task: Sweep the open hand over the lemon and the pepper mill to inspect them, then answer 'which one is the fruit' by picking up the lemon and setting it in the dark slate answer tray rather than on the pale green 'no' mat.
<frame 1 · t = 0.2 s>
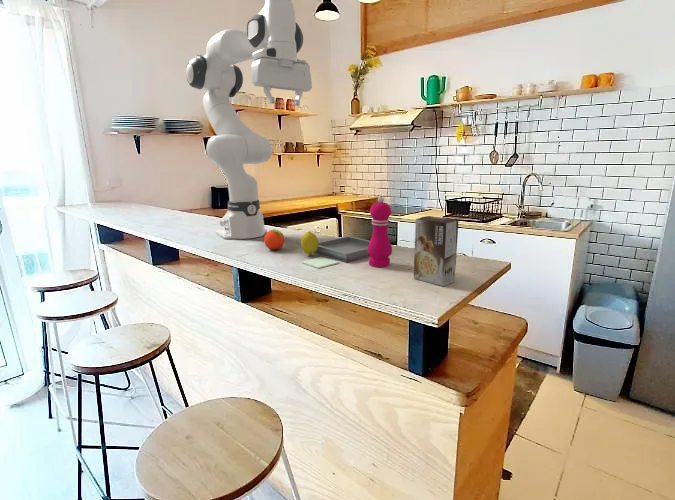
hand: (284, 104, 118), 47 cm above the table, tool pointing down, fingers open, 8 cm apart
pepper mill: (379, 265, 112), on the table
lemon: (310, 256, 122), on the table
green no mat: (320, 263, 113), on the table
slate tray: (347, 251, 126), on the table
clementine: (275, 250, 129), on the table
coffee box: (433, 280, 98), on the table
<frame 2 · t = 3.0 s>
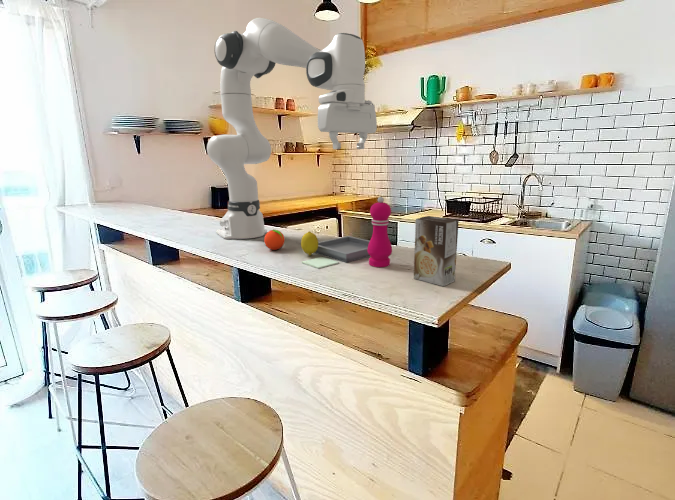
hand: (348, 149, 109), 33 cm above the table, tool pointing down, fingers open, 8 cm apart
nothing on the table moved.
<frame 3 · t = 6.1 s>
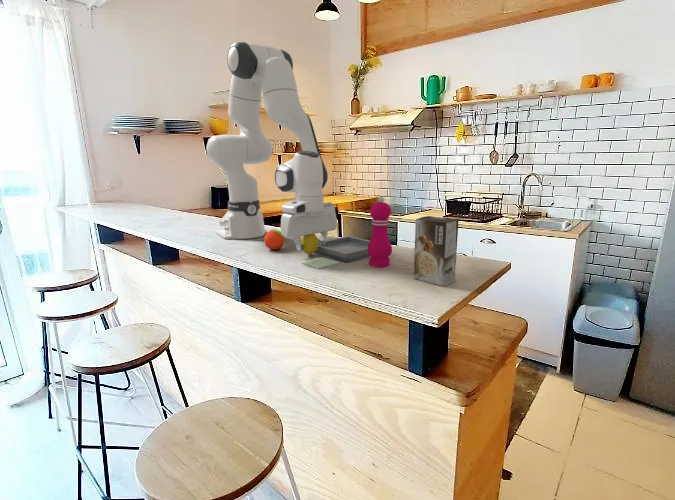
hand: (311, 247, 121), 3 cm above the table, tool pointing down, fingers open, 7 cm apart
nothing on the table moved.
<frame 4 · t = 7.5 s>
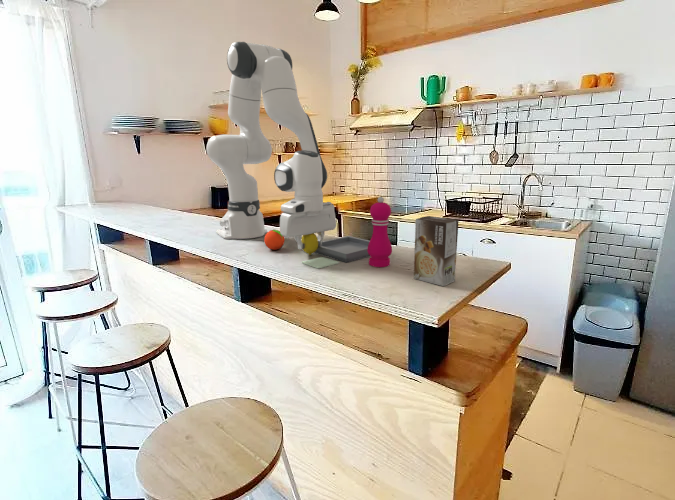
hand: (310, 247, 121), 3 cm above the table, tool pointing down, fingers closed on lemon, 5 cm apart
lemon: (310, 255, 122), on the table, touching gripper
everything else where it was.
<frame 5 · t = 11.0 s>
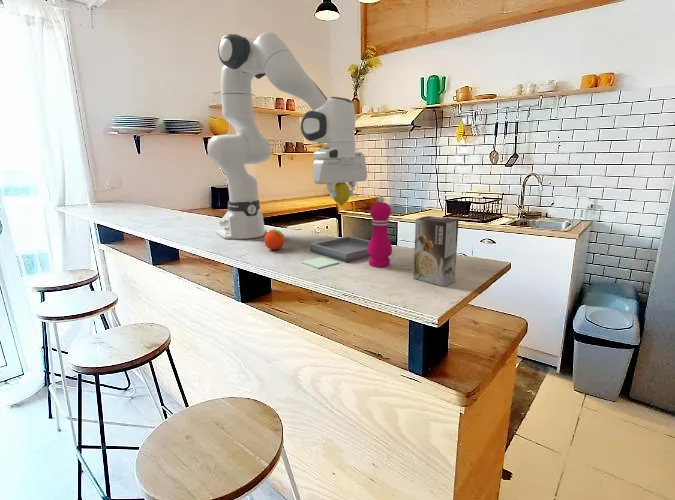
hand: (341, 197, 120), 18 cm above the table, tool pointing down, fingers closed on lemon, 5 cm apart
lemon: (341, 206, 121), point 15 cm above the table, touching gripper
everything else where it was.
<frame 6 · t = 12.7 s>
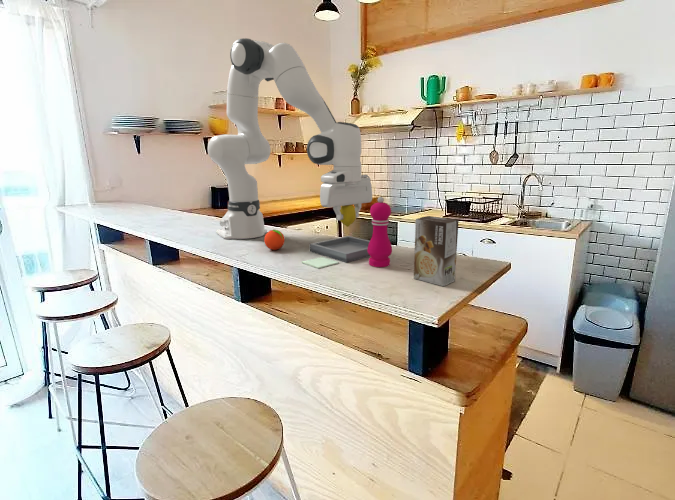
hand: (347, 218, 123), 11 cm above the table, tool pointing down, fingers closed on lemon, 5 cm apart
lemon: (347, 227, 124), point 8 cm above the table, touching gripper
everything else where it was.
when the fingers open (5 cm above the table, at t = 14.3 s): lemon drops 1 cm, resting on slate tray.
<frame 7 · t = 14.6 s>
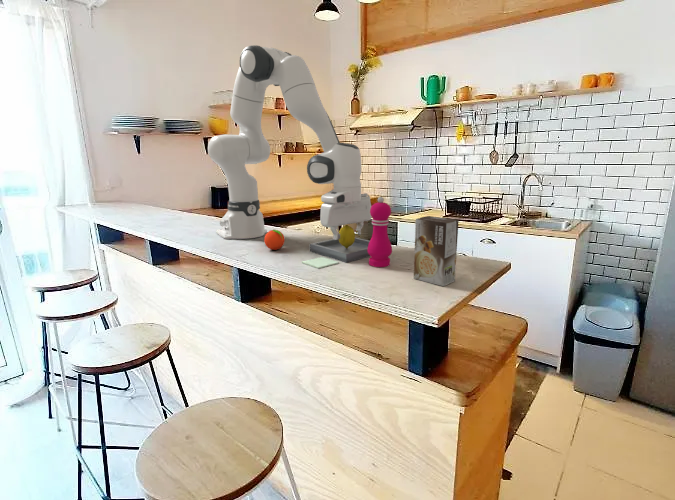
hand: (347, 237, 125), 5 cm above the table, tool pointing down, fingers open, 8 cm apart
lemon: (346, 248, 126), point 1 cm above the table, touching slate tray
everything else where it was.
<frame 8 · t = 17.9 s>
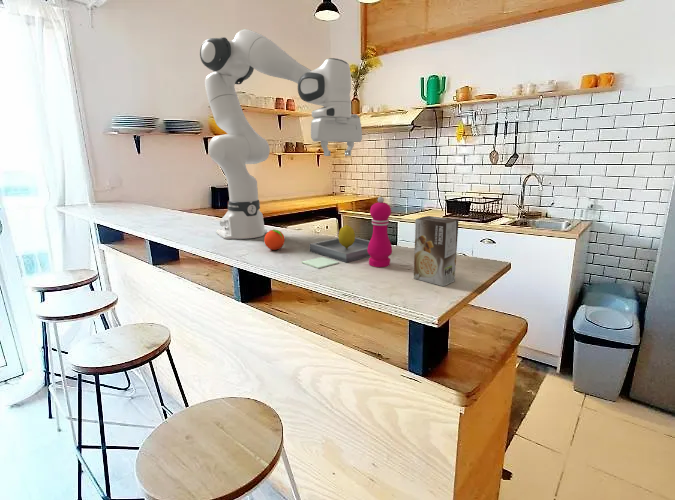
hand: (337, 156, 127), 31 cm above the table, tool pointing down, fingers open, 8 cm apart
nothing on the table moved.
at the end: lemon inside the target area on the slate tray (0.3 cm from its centre), point 1.0 cm above the slate tray's base; the gripper is holding nothing; lemon touching slate tray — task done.
